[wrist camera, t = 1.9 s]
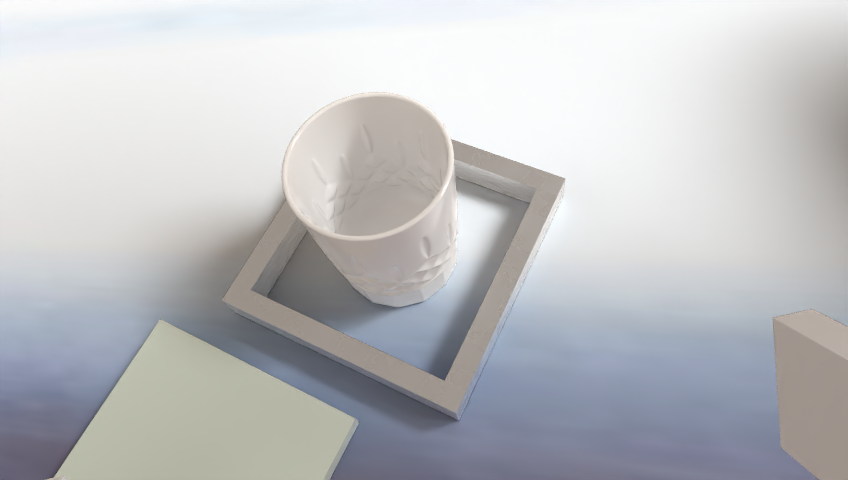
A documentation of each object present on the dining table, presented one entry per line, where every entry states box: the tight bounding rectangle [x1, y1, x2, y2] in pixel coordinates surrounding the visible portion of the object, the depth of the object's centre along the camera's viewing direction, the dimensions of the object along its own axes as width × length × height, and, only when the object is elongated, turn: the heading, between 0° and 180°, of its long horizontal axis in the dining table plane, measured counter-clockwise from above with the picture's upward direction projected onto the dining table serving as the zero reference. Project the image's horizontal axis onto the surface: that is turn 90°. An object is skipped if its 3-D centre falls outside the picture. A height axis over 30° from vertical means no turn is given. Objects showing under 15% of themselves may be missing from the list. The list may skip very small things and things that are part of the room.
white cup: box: [282, 92, 458, 307], centre depth 34 cm, size 8×8×10 cm
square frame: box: [222, 139, 565, 421], centre depth 37 cm, size 14×14×2 cm
